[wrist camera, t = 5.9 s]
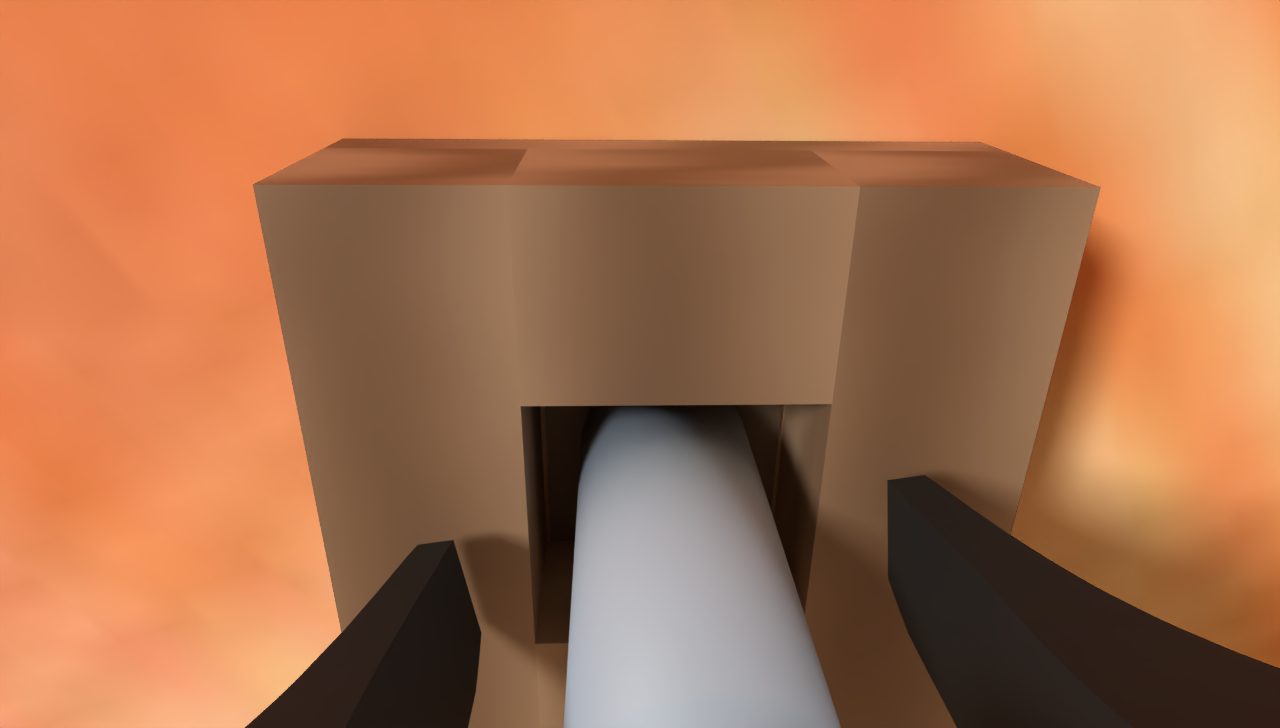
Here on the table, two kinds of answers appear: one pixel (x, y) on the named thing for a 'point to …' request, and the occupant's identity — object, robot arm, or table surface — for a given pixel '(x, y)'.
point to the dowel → (683, 582)
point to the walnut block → (664, 360)
